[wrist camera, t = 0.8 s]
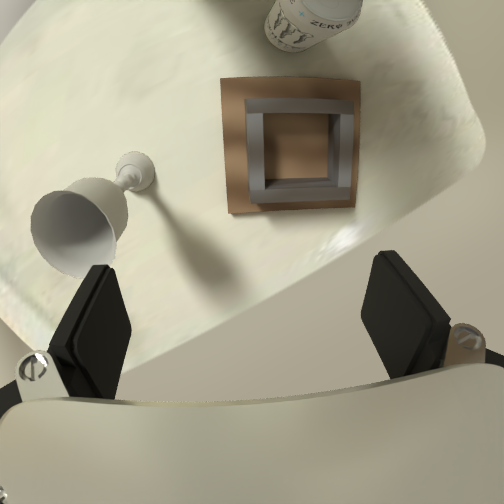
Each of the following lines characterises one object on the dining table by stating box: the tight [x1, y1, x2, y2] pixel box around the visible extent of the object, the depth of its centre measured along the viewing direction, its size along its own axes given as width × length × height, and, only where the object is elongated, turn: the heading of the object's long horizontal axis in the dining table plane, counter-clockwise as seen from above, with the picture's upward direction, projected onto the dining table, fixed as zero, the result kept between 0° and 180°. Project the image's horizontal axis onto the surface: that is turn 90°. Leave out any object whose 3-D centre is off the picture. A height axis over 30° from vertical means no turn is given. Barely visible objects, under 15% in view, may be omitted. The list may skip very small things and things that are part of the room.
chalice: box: [31, 152, 155, 278], centre depth 27 cm, size 7×7×18 cm
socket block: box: [220, 77, 360, 214], centre depth 32 cm, size 16×16×5 cm
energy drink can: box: [264, 0, 363, 52], centre depth 21 cm, size 6×6×15 cm
